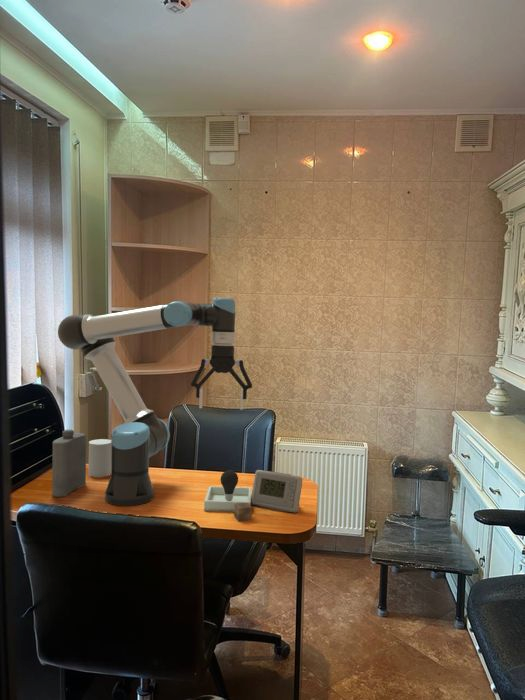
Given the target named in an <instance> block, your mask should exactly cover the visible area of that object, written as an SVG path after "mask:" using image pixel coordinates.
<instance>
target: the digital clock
mask: <svg viewBox="0 0 525 700" xmlns="http://www.w3.org/2000/svg"><path fill="white" fill-rule="evenodd" d="M302 487H303V477H301V476H299V475H294V474H289V473H283V472H277V471H270V470H268V471H267V470H261V469H256V470H255V474H254V477H253V485H252V488H251V505H253V506H257V507H260V508H265V509H269V510H274V511H280V512H283V513H284V512H285V513H287V512H289V513H295V514H296V513H298V511H299V508H300V507H299V506H300V500H301V495H302V494H301V493H302Z"/></svg>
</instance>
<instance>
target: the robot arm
mask: <svg viewBox="0 0 525 700" xmlns="http://www.w3.org/2000/svg"><path fill="white" fill-rule="evenodd" d="M236 313H237V312H236V301H235V299H233V298H232V297H230V298H229V297H214V298H213V299H212V302H211V303H199V302H197V303H195V302H186V301H185V302H184V301H180V300H177V301H172V302H170V303H167V304H160V305H155V306H149V307H141V308H136V309H130V310H125V311H118V312H114V313H108V314H102V315H101V314H100V315H97V314H71V315H69V316H67V317H65V318H63V320H61V322H60V323H59V325H58V328H57V336H58V339H59V341H60V342H61V344H62V345H64V347H66V348H68V349H71V350H78V351H79V350H80V352H81V353H82V355H83V357H84V359H86V360H88V361H91V363H92V364H93V366H94V368H95V370H96V371H97V373H98V375H99V376H100V379H101V381H102V383H103V384H104V386H105V388H106V390H107V391H108V393H109V395H110V396H111V398H112V400H113V402H114V404H115V406H116V408H117V410H118V412H119V413H120V415H121V417H122V419H123V421H124V422H123V423H122V424H121V423H120V424H119V425H117V426H115V427H114V428H113V430H112V431H111V432H112V433H111V438H110V440H111V443H112V454H111V475H110V478H109V481H108V484H107V487H106V489H105V492H104V493H105V494H104V496H105V497H104V498H105V499H104V500H105V502H107V503H108V504H111V505H114V506H122V507H129V506H138V505H142V504H146V503H149V502H150V501H152V500H153V499H154V498H155V497H154V495H155V493H154V492H155V491H154V487H153V484H152V480H151V478H150V473H149V471H150V469H149V468H150V466H149V465H150V458H151V457H153V456H155V455H156V454H159V453H161V452H162V450H164V448H166V447H167V445H168V443H169V441H170V437H171V435H170V434H171V432H170V429H169V427H168V424H167V422H165V421H164V420H162V419H160V418H158V417H157V415H156V413H155V411H154V410H153V409H149V408H147V406H146V404H145V403H144V401H143V398H142V397H141V395H140V394H139V391H138V390H137V387H136V386H135V384H134V383H133V381H132V378H131V377H130V375H129V373H128V371H127V370H126V368H125V367H124V365H123V362H122V360H121V359H120V357H119V355H118V354H117V351H116V345H117V342H116V340H115V339H114V338H117V337H123V336H128V335H134V334H142V333H146V332H153V331H159V330H166V329H172V328H179V327H211V344H212V346H211V348H210V349H211V351H210V353H211V356H210V359H206V358H202V359H201V363H200V367H199V368H198V370H197V372H196V374H195V375H194V378H193V379H192V382H191V383H190V386H191V387H194V388H195V389H196V391H195V392H196V393H195V396H196V398H197V399H198V401H199V402H198V403H199V404H198V405H199V406H198V408H199V409H202V408H203V401H204V399H203V398H204V397H203V395H204V394H203V393H204V387H202V386H203V384H204V383H206V382H207V380H208V379H209V378H210V377H211V376H212V375H213V374H214V373H216V374H219V373H223V374H227V373H229V374H230V375H231V376H232V377H233V379H234V380H235V381H236V382H237V384H238V385H239V386H240V387H241V389H240V400H239V401H240V403H239V405H240V406H239V407H240V408H239V410H240V411H243V409H244V400H247V397H248V395H247V394H248V390H249V389H252V388H253V383H252V381H251V380H250V377H249V375H248V373H247V370H246V369H245V366H244V360H243V359H240V360H235V346H234V344H235V335H236V334H235V333H236V332H235V328H236V327H235V324H236ZM209 364H210V365H209ZM208 365H209V366H211V367H212V368H211V369H210V370H209V371H208V372H207V373H206V375H204V376H203V378H202V379H201V380H200V381H199V379H200V377H201V375H202V373H203V371H204V369H205V367H206V366H208ZM235 365H236V366H237V367H238V368H239V369H240V371H241V372H240V373H242V376H243V378H244V381H245V382H246V383H245V382H244V381H243V379H241V377H240V376H239V375H238V374H237V372H236V370H235V369H234V368H233V367H234V366H235ZM198 381H199V382H198Z"/></svg>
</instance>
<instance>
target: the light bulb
mask: <svg viewBox="0 0 525 700" xmlns="http://www.w3.org/2000/svg"><path fill="white" fill-rule="evenodd" d="M220 483H221V484H220V485H221V487H223V488H224V492H225V499H226V500H227V501H231V500H232V499H233V493H234V489H235V487H237V485H238V483H239V476H238V474H237V472H236V471H234V470H231V469H227V470H225V471H224V472H223V473H221V476H220Z"/></svg>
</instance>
